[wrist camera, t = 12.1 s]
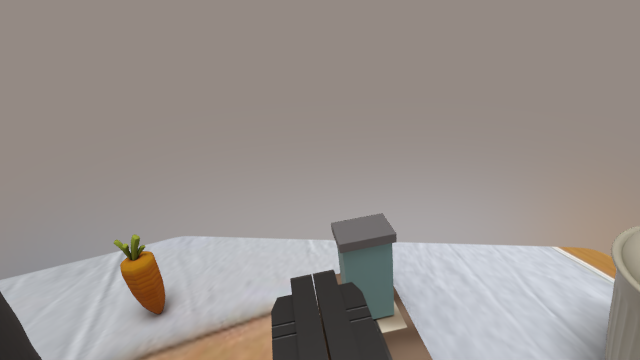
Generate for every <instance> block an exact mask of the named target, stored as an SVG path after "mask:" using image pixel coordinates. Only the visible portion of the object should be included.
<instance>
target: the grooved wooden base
mask: <svg viewBox="0 0 640 360" xmlns="http://www.w3.org/2000/svg"><path fill="white" fill-rule="evenodd" d="M335 275H336V279H337V282H338V285H339V284H342V281H341V273H340V274H335ZM393 291H394V315H390V316H386V317H381V318H377V319H373V320H374V323H375V325H376V328H377V330H378V333H379V336H380V338H381V341H382V343H383V346H384V348H385V351H386V353H387V356H388V358H389V360H432V358H431V356H430V354H429V352H428V350H427V348H426V346H425V345H424V343H423V341H422V339H421V337H420V335H419V333H418V331H417V329H416V327H415V326H414V324H413V322H412V320H411V318H410V316H409V314H408V312H407V310H406V308H405V307H404V305H403V303H402V301H401V299H400V297H399V295H398V293H397V291H396V290H395V288H394V286H393Z"/></svg>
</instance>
